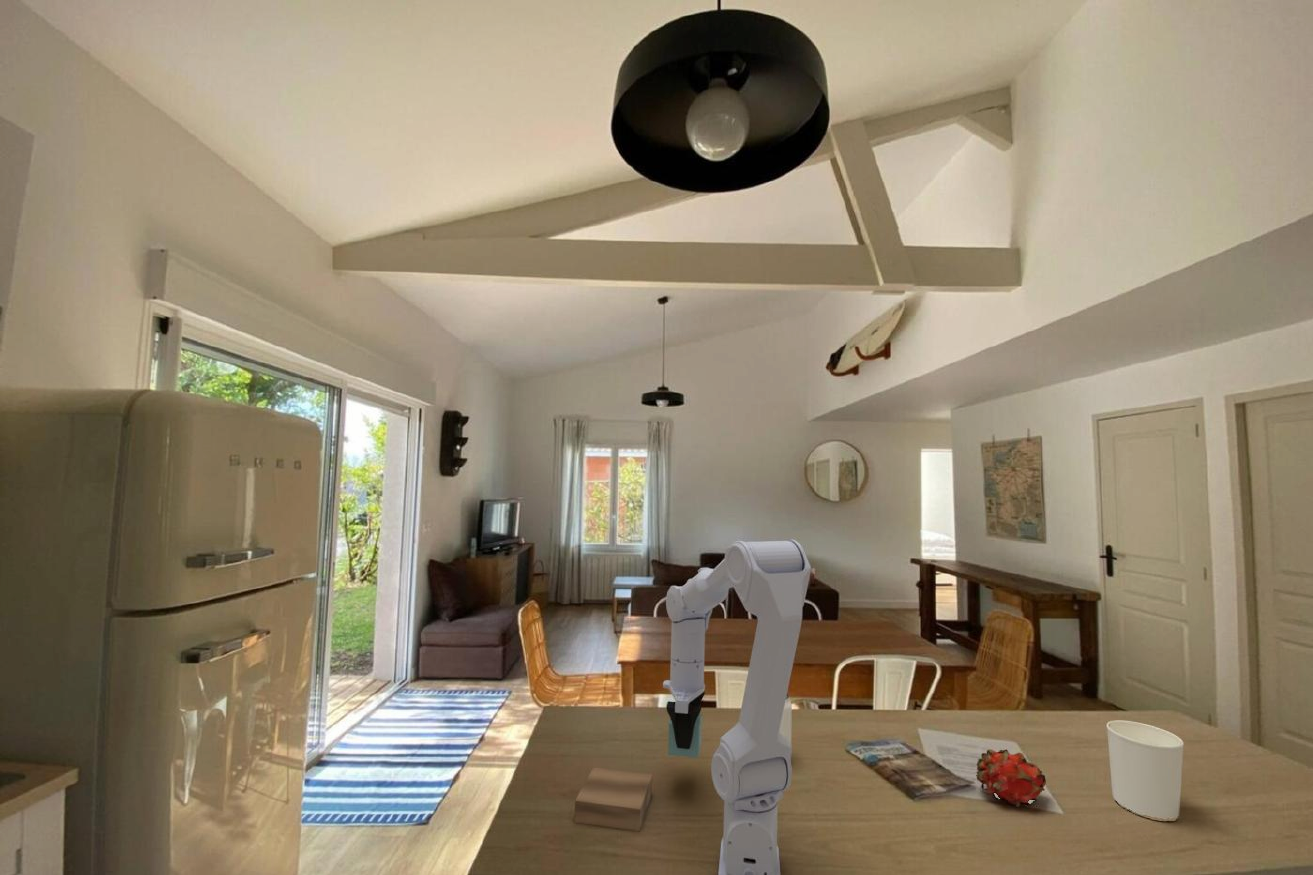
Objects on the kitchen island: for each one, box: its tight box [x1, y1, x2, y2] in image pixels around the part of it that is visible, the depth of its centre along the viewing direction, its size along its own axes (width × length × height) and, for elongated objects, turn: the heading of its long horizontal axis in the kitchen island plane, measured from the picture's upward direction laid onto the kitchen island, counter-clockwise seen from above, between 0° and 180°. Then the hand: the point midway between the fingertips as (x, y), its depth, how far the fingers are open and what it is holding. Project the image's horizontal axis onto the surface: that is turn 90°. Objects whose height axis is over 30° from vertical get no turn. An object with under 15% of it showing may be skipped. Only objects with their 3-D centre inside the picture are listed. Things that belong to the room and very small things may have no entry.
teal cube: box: [667, 713, 703, 759], centre depth 98 cm, size 5×5×5 cm
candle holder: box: [1106, 719, 1185, 819], centre depth 96 cm, size 10×10×12 cm
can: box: [779, 692, 793, 747], centre depth 108 cm, size 6×6×12 cm
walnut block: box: [573, 767, 653, 832], centre depth 91 cm, size 10×10×4 cm
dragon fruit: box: [975, 748, 1047, 808], centre depth 97 cm, size 8×8×12 cm
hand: (685, 739), depth 98 cm, fingers closed on teal cube, 5 cm apart
